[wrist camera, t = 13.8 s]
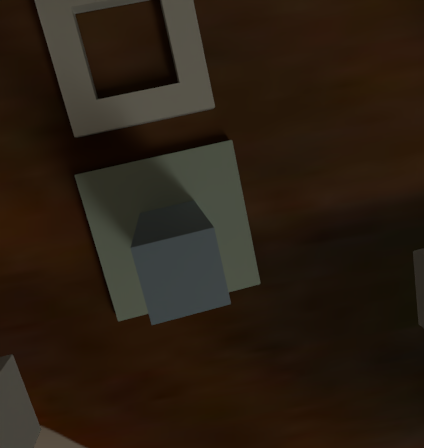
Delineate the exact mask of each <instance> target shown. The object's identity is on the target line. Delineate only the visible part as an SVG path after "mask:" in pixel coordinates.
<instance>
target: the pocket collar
mask: <svg viewBox="0 0 424 448" xmlns="http://www.w3.org/2000/svg"><path fill="white" fill-rule="evenodd" d="M34 1H35V4H36V8H37V11H38V14H39V18H40V21H41V25H42V28H43V32H44V35H45V38H46V42H47V45H48V49H49V52H50V55H51V59H52V62H53V66H54V69H55V72H56V76H57V79H58V83H59V86H60V90H61V93H62V96H63V100H64V103H65V107H66V110H67V113H68V117H69V120H70V124H71V127H72V130H73V134H74V137H77V138H79V137H84V136H89V135H93V134H98V133H103V132H107V131H112V130H117V129H121V128H126V127H131V126H135V125H140V124H145V123H149V122H154V121H159V120H163V119H168V118H173V117H177V116H182V115H187V114H192V113H196V112H201V111H206V110H210V109H213V108H215V105H214V100H213V95H212V90H211V85H210V80H209V75H208V71H207V66H206V61H205V56H204V51H203V46H202V41H201V36H200V31H199V27H198V22H197V17H196V12H195V7H194V2H193V0H160V4H161V8H162V13H163V17H164V22H165V26H166V31H167V35H168V40H169V44H170V49H171V53H172V58H173V62H174V67H175V71H176V76H177V80H178V83H176V84H171V85H166V86H161V87H156V88H151V89H147V90H142V91H137V92H132V93H127V94H122V95H117V96H112V97H108V98H103V99H98V97H97V93H96V89H95V86H94V82H93V78H92V75H91V71H90V67H89V64H88V60H87V56H86V53H85V49H84V45H83V42H82V38H81V34H80V31H79V27H78V23H77V20H76V16H75V14H77V13H82V12H88V11H93V10H99V9H104V8H110V7H115V6H121V5H126V4H132V3H138V2H143V1H149V0H34Z"/></svg>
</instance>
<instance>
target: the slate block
mask: <svg viewBox="0 0 424 448" xmlns="http://www.w3.org/2000/svg"><path fill="white" fill-rule="evenodd" d="M130 249H131V252H132V256H133V259H134V263H135V266H136V270H137V274H138V277H139V281H140V284H141V288H142V292H143V295H144V299H145V302H146V306H147V310H148V313H149V317H150V320H151V324H152V325H154V324H158V323H162V322H165V321H169V320H173V319H177V318H180V317H184V316H188V315H191V314H195V313H199V312H203V311H206V310H210V309H214V308H218V307H221V306H225V305H229V304H231V302H230V297H229V293H228V288H227V284H226V279H225V274H224V270H223V265H222V261H221V256H220V252H219V247H218V243H217V238H216V234H215V229H214V227H213V225H212V224H211V222H210V221H209V220H208V218H207V217H206V216H205V214H204V213H203V212H202V210H201V209H200V207H199V206H198V205H197V203H196V202H195V201H194V200H193V201H189V202H185V203H180V204H176V205H172V206H168V207H164V208H159V209H155V210H151V211H147V212H142V213H140V214H139V218H138V222H137V225H136V229H135V233H134V236H133V240H132V244H131V247H130Z"/></svg>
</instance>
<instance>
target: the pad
mask: <svg viewBox="0 0 424 448" xmlns="http://www.w3.org/2000/svg"><path fill="white" fill-rule="evenodd" d="M74 176H75V179H76V182H77V186H78V189H79V192H80V196H81V199H82V202H83V206H84V209H85V212H86V216H87V219H88V222H89V226H90V229H91V232H92V236H93V239H94V242H95V246H96V249H97V252H98V256H99V259H100V262H101V266H102V269H103V272H104V276H105V279H106V282H107V286H108V289H109V292H110V296H111V299H112V302H113V306H114V309H115V312H116V316H117V319H118V321H122V320H126V319H129V318H133V317H137V316H141V315H145V314H148V310H147V306H146V302H145V299H144V295H143V292H142V288H141V284H140V281H139V277H138V274H137V270H136V266H135V263H134V259H133V256H132V252H131V249H130V247H131V244H132V240H133V236H134V233H135V229H136V225H137V222H138V218H139V214H140V213H142V212H147V211H151V210H155V209H159V208H164V207H168V206H172V205H176V204H180V203H185V202H189V201H193V200H194V201H195V202H196V203H197V205H198V206H199V207H200V209H201V210H202V212H203V213H204V214H205V216H206V217H207V218H208V220H209V221H210V222H211V224H212V225H213V227H214V229H215V234H216V238H217V243H218V247H219V252H220V256H221V261H222V265H223V270H224V274H225V279H226V284H227V288H228V292H232V291H235V290H239V289H243V288H247V287H250V286H254V285H258V284H260V279H259V274H258V269H257V264H256V259H255V254H254V248H253V243H252V238H251V233H250V228H249V223H248V218H247V213H246V208H245V203H244V198H243V193H242V188H241V183H240V178H239V173H238V168H237V163H236V158H235V153H234V147H233V142H232V140H229V141H224V142H220V143H215V144H211V145H206V146H202V147H197V148H193V149H188V150H184V151H179V152H175V153H170V154H166V155H161V156H157V157H152V158H148V159H143V160H139V161H134V162H130V163H126V164H121V165H117V166H112V167H108V168H103V169H99V170H94V171H90V172H85V173H81V174H76V175H74Z"/></svg>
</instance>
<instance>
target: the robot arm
mask: <svg viewBox="0 0 424 448" xmlns="http://www.w3.org/2000/svg"><path fill="white" fill-rule="evenodd" d="M413 258H414V270H415V283H416V296H417V308H418V321H419V325H420V326H422V327H423V328H424V249H420V250H416V251H413ZM40 431H41V428H40V425H39V423H38V420H37V417H36V415H35V412H34V410H33V407H32V404H31V402H30V399H29V396H28V394H27V391H26V388H25V386H24V383H23V380H22V378H21V375H20V373H19V370H18V367H17V365H16V362H15V359H14V357H13V354H11V355H7V356H3V357H0V448H34V445H35V443H36V440H37V438H38V436H39V433H40Z"/></svg>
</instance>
